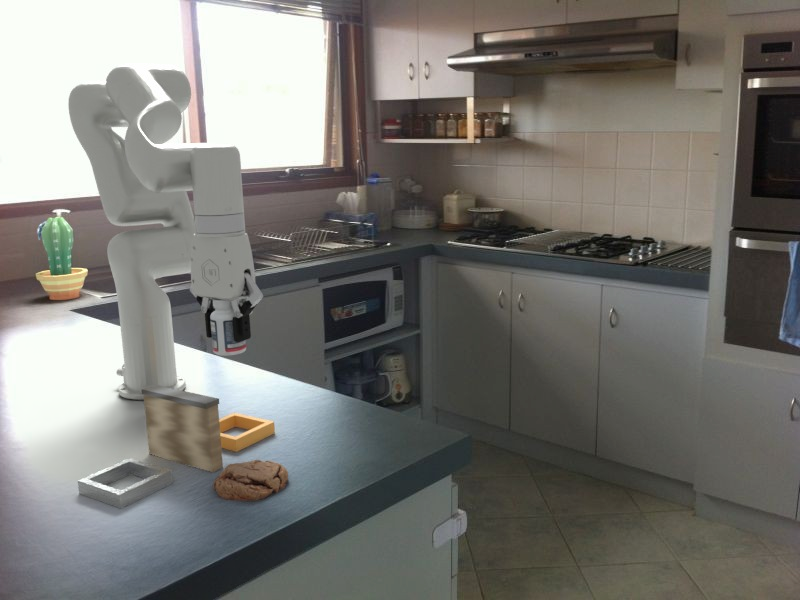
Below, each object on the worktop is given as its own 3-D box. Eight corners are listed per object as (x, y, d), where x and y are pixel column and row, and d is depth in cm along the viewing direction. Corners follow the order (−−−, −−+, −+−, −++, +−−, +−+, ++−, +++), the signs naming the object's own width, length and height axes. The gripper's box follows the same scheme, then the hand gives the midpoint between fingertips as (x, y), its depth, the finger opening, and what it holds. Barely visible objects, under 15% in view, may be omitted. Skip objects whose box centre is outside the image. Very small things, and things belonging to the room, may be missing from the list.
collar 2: (196, 441, 130) (195, 429, 130) (235, 423, 137) (234, 412, 137) (236, 451, 125) (235, 439, 125) (274, 433, 133) (274, 421, 132)
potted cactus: (81, 290, 261) (73, 213, 256) (97, 296, 249) (89, 217, 244) (31, 297, 251) (21, 218, 246) (46, 304, 240) (36, 221, 234)
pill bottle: (252, 348, 130) (248, 295, 128) (237, 357, 125) (233, 301, 123) (222, 346, 131) (218, 294, 130) (207, 355, 127) (202, 300, 125)
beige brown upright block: (147, 454, 125) (141, 389, 123) (160, 449, 127) (154, 384, 125) (211, 473, 118) (206, 403, 115) (224, 467, 120) (219, 398, 117)
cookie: (303, 484, 114) (302, 464, 113) (243, 511, 106) (241, 490, 106) (259, 466, 121) (258, 447, 120) (200, 490, 113) (198, 470, 112)
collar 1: (79, 493, 112) (77, 480, 112) (131, 470, 119) (130, 457, 119) (121, 508, 107) (119, 494, 107) (172, 483, 115) (171, 470, 114)
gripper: (163, 225, 125) (173, 337, 129) (243, 230, 116) (252, 350, 120) (199, 220, 132) (207, 327, 135) (278, 224, 123) (284, 338, 126)
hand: (228, 336), depth 128 cm, fingers closed on pill bottle, 5 cm apart
